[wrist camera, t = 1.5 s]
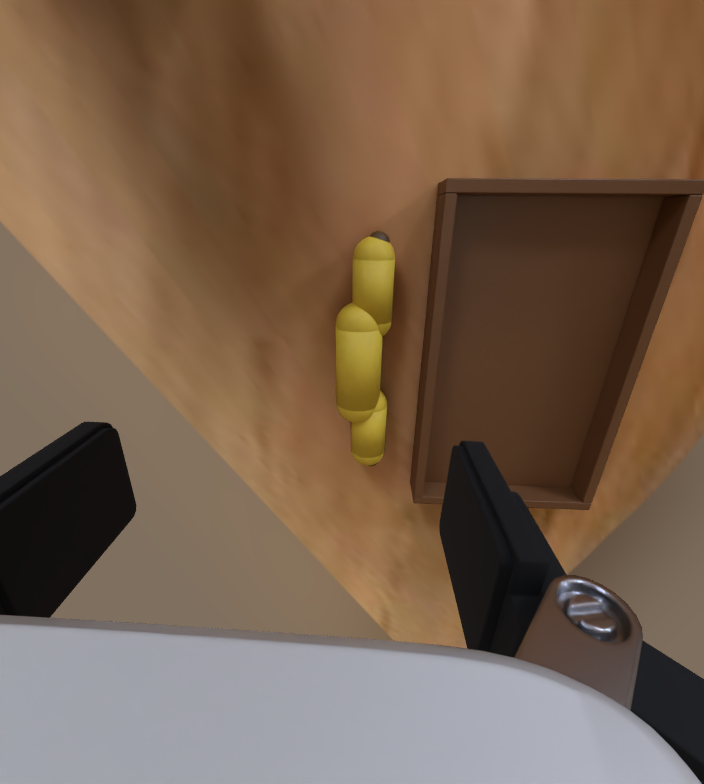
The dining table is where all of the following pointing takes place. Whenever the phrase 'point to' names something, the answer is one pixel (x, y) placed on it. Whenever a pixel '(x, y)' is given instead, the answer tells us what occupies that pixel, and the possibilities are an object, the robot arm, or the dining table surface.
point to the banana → (365, 347)
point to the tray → (542, 324)
